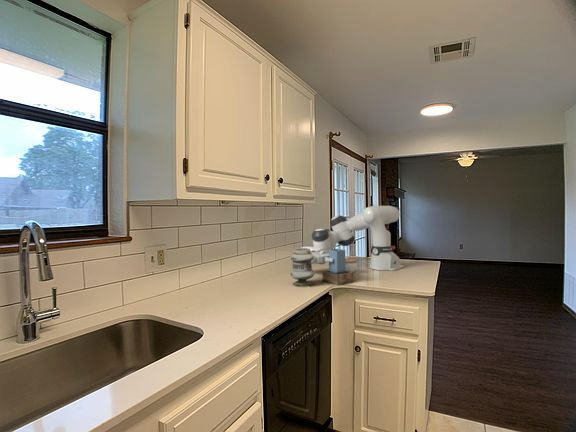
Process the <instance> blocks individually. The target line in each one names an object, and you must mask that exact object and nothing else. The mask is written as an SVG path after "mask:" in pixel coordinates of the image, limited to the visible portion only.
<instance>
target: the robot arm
mask: <svg viewBox="0 0 576 432" xmlns="http://www.w3.org/2000/svg"><path fill="white" fill-rule="evenodd" d="M347 218H348V217H347V216H343V215H335V216H333V217H332V218H331V219H330V221H329V224H330V227H331V229H332V230H331V229H329V228H318V229H315V230H313V232H312V233H311V239H312V245H313V246H302V247H301V248H308V249H310V252H311V253H312V254H313V256H314V258H313V260H311V265H313V264H315V265H317V264H318V265H325V264H326V263H329V261H330V262H333V261H334V258H329V250H332V249H335V247H336V246H337V245H338V246H339V245H340V246H342V247H347V246H348V247H349V246H351V245H352V244H353V243H354V242H355V240H356V238H355V235H354V234H353V232H358V231H363V230H364V231H365V230H367V229H370V232H371V244H372V245H371V247H370V248H371V254H370V261H369V265H368V267H369V269H372V270H377V271H396V270H399V269H402V268H404V267H405V266H404V265H403V264H401V263H400V257H399V256H398V255H397V254H396V253H395V252H393V250H395V249H396V245H391V244H392V242H391V240H392V239H391V235H392V234H391V232H390V231H389V230H387V228H386V226H385V225H388V224H391V223H395V222H398V220H399V218H400V211H399V208H398V207H396V206H392V205H371V206H367V207H366V208H364V210H363V212H362V211H361V212H359V213H357V214H355V215H354V216H352V217H350V218H348V219H347ZM352 231H353V232H352Z"/></svg>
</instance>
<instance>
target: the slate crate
mask: <svg viewBox="0 0 576 432" xmlns="http://www.w3.org/2000/svg"><path fill="white" fill-rule="evenodd" d="M329 258H334V261H333V262H330V261H329V262H328V271H329V273H333V274H343V273H346V267H345V258H346V249H341V248H333V249H331V250H329Z"/></svg>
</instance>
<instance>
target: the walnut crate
mask: <svg viewBox="0 0 576 432" xmlns="http://www.w3.org/2000/svg"><path fill="white" fill-rule="evenodd" d="M322 282H324V283H328V284H332V285H336V286H341V285H345V284H346V285H347V284H350V283H353V282H354V272H349V271H346V273H343V274H333V273H329V270H326V271H322Z"/></svg>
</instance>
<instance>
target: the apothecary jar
mask: <svg viewBox="0 0 576 432" xmlns="http://www.w3.org/2000/svg"><path fill="white" fill-rule="evenodd" d="M289 258H290V260H291V261H292V269H291V271H290V276H291V278H293V279H295V280H296V281H294V282H292V285H293V286H294V287H300V288H307V287H310V286H312V285H313V283H312V282H311V281H309V279H312V278H313V277H314V276H315V271H314V270H313V269H312V268H313V267H312V265H313V264H311V260H313V258H314V256H313V254H312V253H311V252H310V249H308V248H302V247H299V248H293V251H292V253H291V254H290V257H289Z"/></svg>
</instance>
